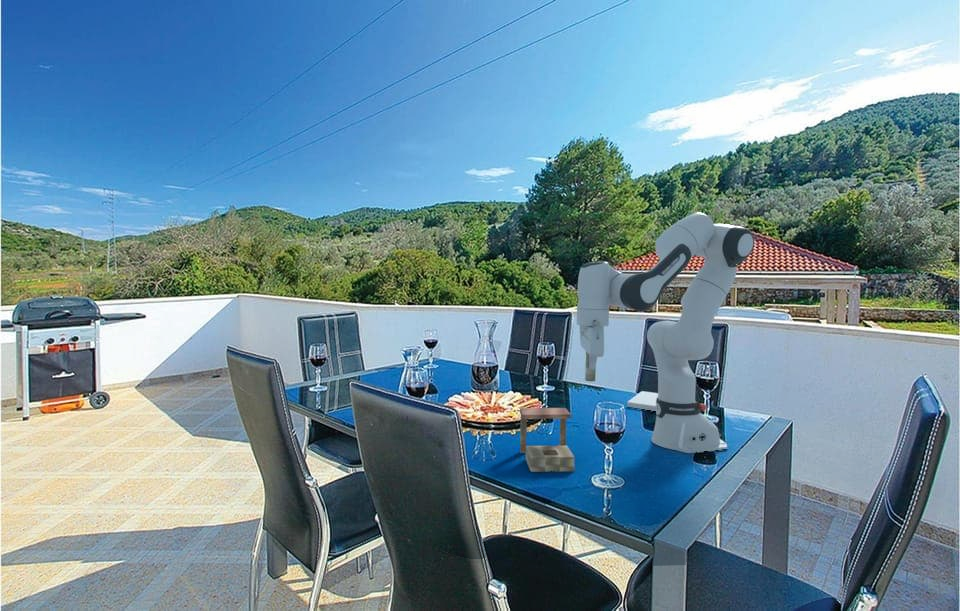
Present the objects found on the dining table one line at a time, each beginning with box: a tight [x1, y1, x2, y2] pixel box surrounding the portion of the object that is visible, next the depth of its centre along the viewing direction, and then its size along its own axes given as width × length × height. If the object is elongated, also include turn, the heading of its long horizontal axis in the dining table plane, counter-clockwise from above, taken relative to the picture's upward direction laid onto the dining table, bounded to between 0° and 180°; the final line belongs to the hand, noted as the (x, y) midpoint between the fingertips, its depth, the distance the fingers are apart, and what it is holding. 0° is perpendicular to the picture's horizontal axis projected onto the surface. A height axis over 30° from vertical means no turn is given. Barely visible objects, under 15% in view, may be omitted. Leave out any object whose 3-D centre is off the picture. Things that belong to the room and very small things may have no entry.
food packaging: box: [626, 390, 658, 412], centre depth 203 cm, size 15×3×20 cm
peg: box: [584, 351, 597, 382], centre depth 138 cm, size 3×3×8 cm
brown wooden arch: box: [519, 407, 572, 454], centre depth 145 cm, size 14×7×13 cm, turn 93°
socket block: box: [525, 445, 575, 473], centre depth 138 cm, size 12×9×4 cm
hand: (590, 367), depth 138 cm, fingers closed on peg, 3 cm apart
